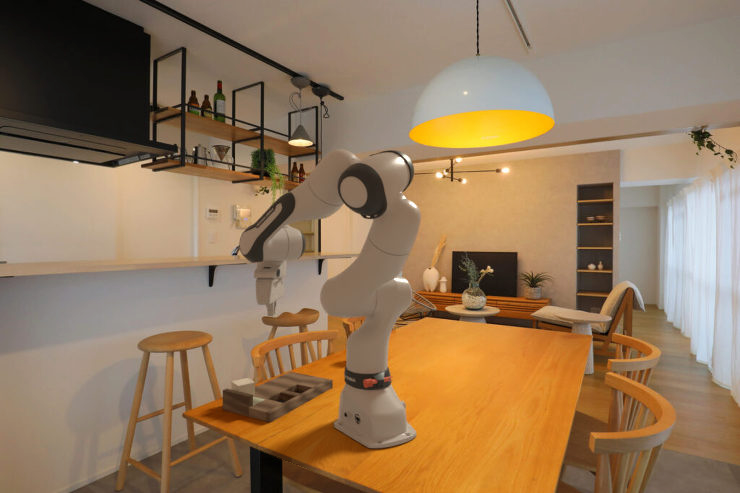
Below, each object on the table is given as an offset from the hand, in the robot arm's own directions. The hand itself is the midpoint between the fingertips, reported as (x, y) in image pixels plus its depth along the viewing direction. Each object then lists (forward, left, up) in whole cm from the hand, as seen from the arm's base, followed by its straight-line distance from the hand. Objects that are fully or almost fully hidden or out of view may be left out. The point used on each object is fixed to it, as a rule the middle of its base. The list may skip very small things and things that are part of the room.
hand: (271, 315), depth 126 cm
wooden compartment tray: (-2, -3, -25) cm, 25 cm away
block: (-1, +9, -23) cm, 24 cm away
